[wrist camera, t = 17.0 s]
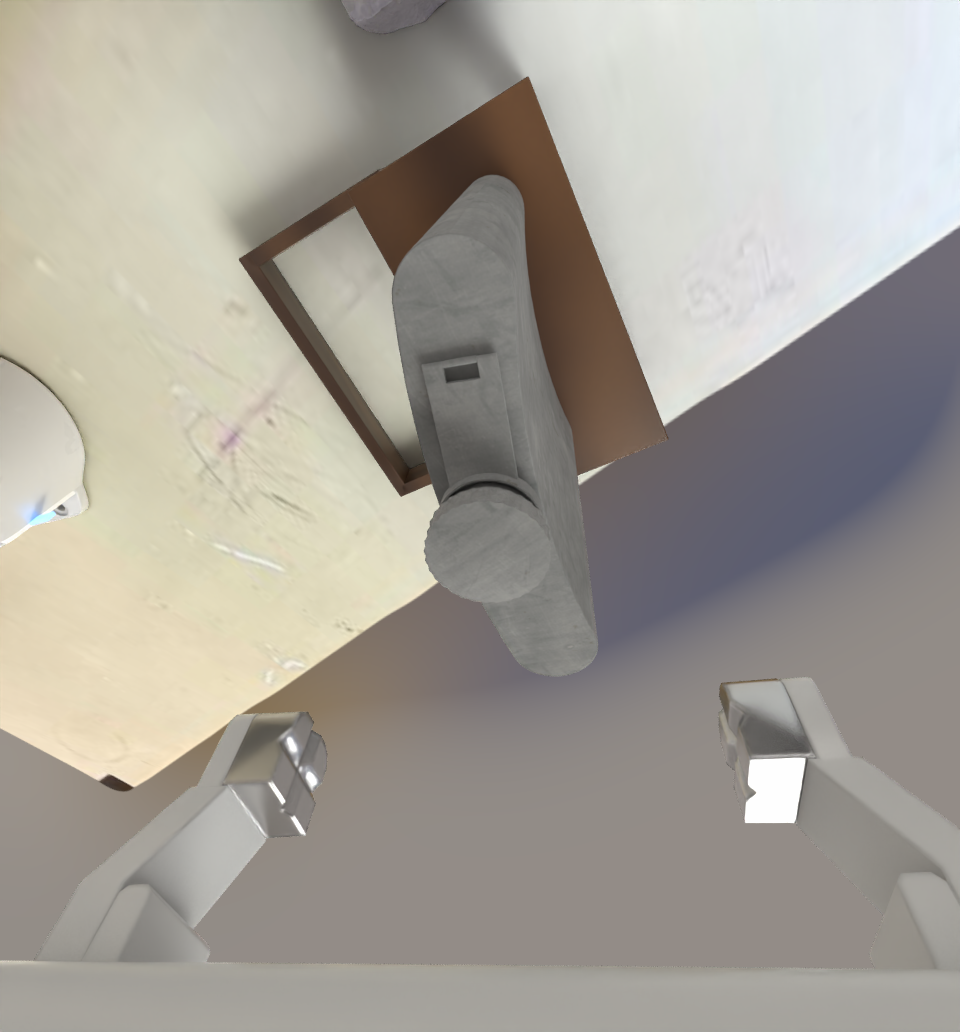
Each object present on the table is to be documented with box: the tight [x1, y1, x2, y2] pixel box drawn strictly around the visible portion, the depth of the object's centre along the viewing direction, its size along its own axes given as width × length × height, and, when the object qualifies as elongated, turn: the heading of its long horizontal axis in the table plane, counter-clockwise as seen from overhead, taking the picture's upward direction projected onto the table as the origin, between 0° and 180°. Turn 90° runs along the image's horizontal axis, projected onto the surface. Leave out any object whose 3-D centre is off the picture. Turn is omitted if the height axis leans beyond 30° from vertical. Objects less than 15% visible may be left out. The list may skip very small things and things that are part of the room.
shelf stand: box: [239, 77, 668, 496], centre depth 39 cm, size 22×21×11 cm
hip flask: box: [392, 175, 598, 676], centre depth 25 cm, size 16×4×20 cm, turn 16°
